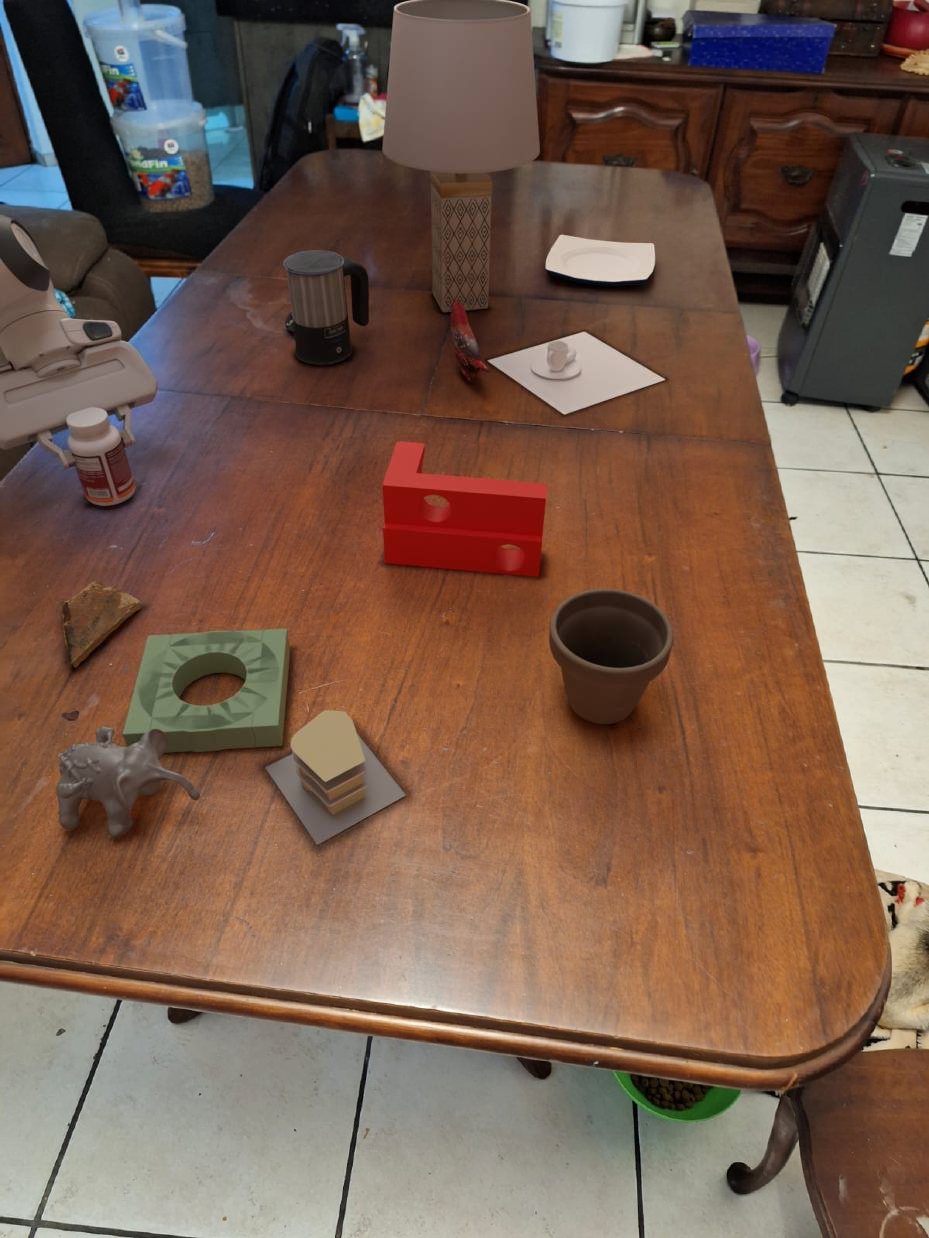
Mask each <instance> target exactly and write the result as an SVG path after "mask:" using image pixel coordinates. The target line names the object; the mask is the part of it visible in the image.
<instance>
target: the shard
mask: <svg viewBox="0 0 929 1238" xmlns="http://www.w3.org/2000/svg"><path fill="white" fill-rule="evenodd" d="M60 607H61V616H62V623H63V626H62V627H63V635H64V636H63V637H64V642H65V646H66V650H67V656H66V660H67V664H68V665H72V666H73V668H77V667H79V665H80V664H81V663H82V662H83V661H84V660H86V659H87V658H88V656H89V655H90V653H92V652H93V651H94V650H95V649H96V648H98V646H100V644H102V642H103V643H104V641H105V639H107V638H108V636H109V635H110V634H111V633H112V632H114V631H115V630H117V629H118V627H119V626H121V624H123V622H125V621H126V620H127V619H128V618H129V617H131V616H132V615H134V613H136V612H138V611H140V609H142V602H141V601H140V600H139V599H137V598H136V597H134V596H133V595H130V594H129V593H128V592H125V591H123V590H120V589H118V588H117V589H116V588H114V587H112V586H109V585H106V584H104V583H102V582H100V581H92V582H91V583H89V584H88V585H87V586H86V587H85V588H83V589H82V590H81V591H80V592H77V594H75V595H73V596H72V597H71V598H69V599H68V600H65V601H61V603H60Z"/></svg>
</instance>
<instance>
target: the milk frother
mask: <svg viewBox="0 0 929 1238" xmlns="http://www.w3.org/2000/svg"><path fill="white" fill-rule="evenodd" d="M282 266H283V268H284V269H285V273H286V281H287V287H288V294H289V295H288V296H289V303H290V309H291V310H290V311H291V312H289V313H288V314H287V316H286V317H285V320H284V325H285V328H286V330H287V331H289V333H291V334H293V335H294V343H295V350H294V355H295V357H296V359H297V360H298V361H300V362H302V363H304V364H308V365H312V366H329V365H335V364H339V363H341V362H343V361H346V360H347V359H348V358H349V357H350V356H351V355H352V354H353V347H352V344H351V338H350V335H351V331H350V322H349V321H350V320H349V312H348V302H347V294H346V281H345V277H348V276H350V295H351V296H350V297H351V315H352V316H351V317H352V321H353V322H354V323H355V324H357V325H358V326H361V327H366V326H368V324H369V321H370V302H369V301H370V288H369V286H370V285H369V283H370V282H369V274H368V272H367V269H366V268H365V267H364V265H363V264H361V263H360V262H358V261H357V260H355V259H352V258H349V257H343V256H342V255H340V254H339V253H337V252H334V251H330V250H324V249H322V250H321V249H314V250H313V249H311V250H304V251H299V252H295V253H293V254H291V255H289V256H287V257H286V258H285V259H284V260H283V262H282Z"/></svg>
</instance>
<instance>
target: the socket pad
mask: <svg viewBox="0 0 929 1238" xmlns="http://www.w3.org/2000/svg"><path fill="white" fill-rule="evenodd" d="M145 641H146V642H145V646H144V649H143V653H142V657H141V661H140V665H139V669H138V672H137V676H136V679H135V684H134V688H133V692H132V695H131V699H130V702H129V703H130V704H129V708H128V711H127V716H126V719H125V723H124V727H123V731H122V737H123V740H124V742H125V744H126V747H128V746H130V745H132V744H134V743H136V742H139V741H140V740H141V738H142V736H143V735H144V734H145V733H146V732H147V731H149V730H151V729H159V730H162V731H163V732H164V733H165V734H166V735H167V737H168V744H167V746H166V749H165V751H164V753H163V754H165V753H184V752H192V753H202V752H204V753H205V752H218V751H222V750H235V749H251V748H268V747H270V748H271V747H282V746H283V742H284V728H285V720H286V719H285V716H286V705H287V694H288V682H289V672H290V671H289V669H290V657H291V645H290V639H289V634H288V628H270V629H269V628H267V629H266V628H265V629H249V630H229V629H227V630H211V631H210V630H207V631H204V632H188V633H187V632H186V633H172V634H171V633H170V634H169V633H168V634H151V635H150V634H149V635H148V636H147V637H146V640H145ZM213 674H229V675H235V676H237V677H239V678H241V679H242V680H244V683H243V685H242V687H241V688H240V689H239V690H238V691H237V692H236V693H235V694H234V695H232V696H231V697H229V698H227V699H225V700H224V701H221V702H217V703H213V704H207V705H206V704H205V705H196V704H191V703H187V702H186V701H184V700H182V699H181V696H182V694H183V692H184V691H185V689H186V688H187V687H188V686H190V685H191V684H192V683H193V682H194V681H196V680H198V679H200V678H202V677H205V676H209V675H213Z"/></svg>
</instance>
